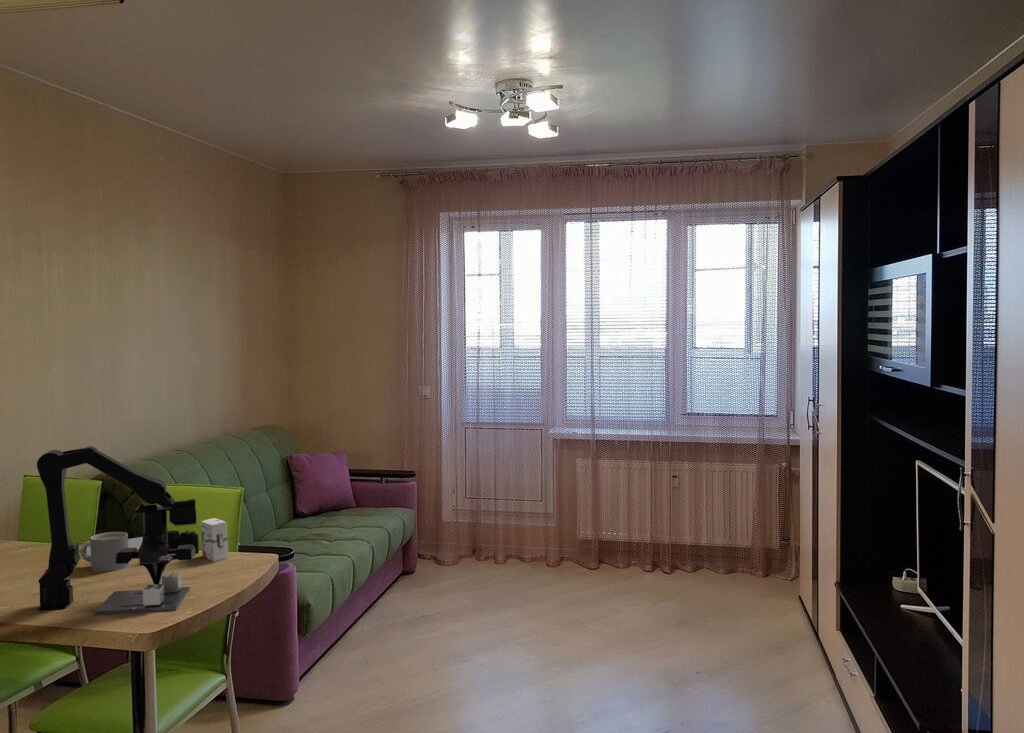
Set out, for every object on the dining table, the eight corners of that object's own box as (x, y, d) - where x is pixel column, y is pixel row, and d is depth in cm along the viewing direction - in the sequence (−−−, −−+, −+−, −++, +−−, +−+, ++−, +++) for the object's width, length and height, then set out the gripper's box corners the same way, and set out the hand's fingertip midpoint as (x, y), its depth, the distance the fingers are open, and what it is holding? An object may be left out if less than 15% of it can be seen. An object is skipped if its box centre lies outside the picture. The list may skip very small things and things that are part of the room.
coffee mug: (136, 565, 241) (135, 532, 240) (111, 575, 231) (110, 541, 231) (99, 562, 244) (98, 530, 244) (73, 572, 235) (72, 538, 234)
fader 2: (162, 592, 211) (161, 576, 210) (165, 587, 214) (165, 572, 214) (178, 591, 211) (177, 575, 211) (181, 586, 215) (181, 571, 215)
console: (94, 615, 197) (94, 611, 197) (114, 595, 213) (114, 591, 213) (176, 610, 201) (176, 605, 201) (189, 590, 217) (189, 586, 217)
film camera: (187, 550, 258) (186, 522, 258) (202, 555, 252) (201, 527, 252) (140, 560, 247) (139, 531, 246) (155, 566, 240) (154, 536, 240)
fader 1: (143, 605, 200) (142, 589, 200) (147, 600, 204) (147, 584, 204) (160, 604, 201) (159, 588, 201) (164, 599, 205) (163, 583, 205)
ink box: (200, 558, 248) (200, 520, 248) (216, 554, 252) (215, 517, 252) (213, 563, 242) (212, 524, 242) (229, 560, 246) (228, 521, 245)
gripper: (107, 537, 202) (109, 598, 203) (186, 533, 205) (187, 593, 206) (121, 526, 213) (122, 584, 214) (195, 523, 216) (196, 580, 217)
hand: (157, 586), depth 212 cm, fingers closed
